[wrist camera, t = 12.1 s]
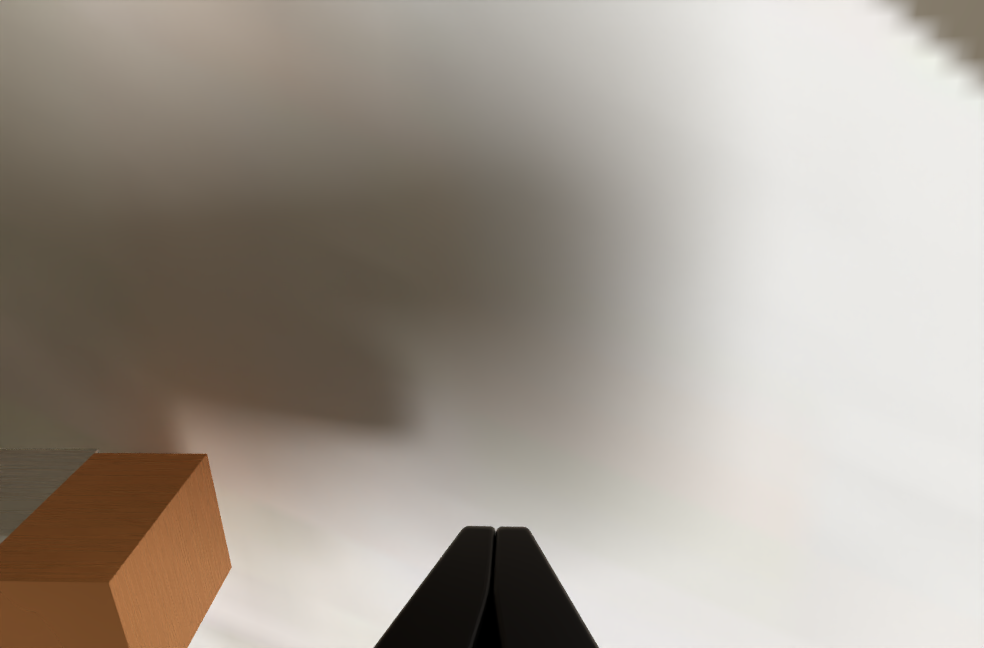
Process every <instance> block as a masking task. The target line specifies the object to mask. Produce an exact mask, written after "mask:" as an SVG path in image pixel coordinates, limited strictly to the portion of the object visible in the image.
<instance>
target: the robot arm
mask: <svg viewBox="0 0 984 648" xmlns="http://www.w3.org/2000/svg"><path fill="white" fill-rule="evenodd" d="M374 648H599V647H598V645H597V644H596V642H595V640H594V639H593V637H592V635H591V634H590V632H589V630H588V628H587V627H586V625H585V623H584V622H583V620H582V618H581V617H580V615H579V613H578V611H577V610H576V608H575V606H574V605H573V603H572V601H571V600H570V598H569V596H568V594H567V593H566V591H565V589H564V588H563V586H562V584H561V583H560V581H559V579H558V577H557V576H556V574H555V572H554V571H553V569H552V567H551V566H550V564H549V562H548V561H547V559H546V557H545V555H544V554H543V552H542V550H541V549H540V547H539V545H538V544H537V542H536V540H535V538H534V537H533V535H532V533H531V532H530V530H529V529H528V528H526V527H499V528H498V529H497V531H495V529H494V528H493V527H491V526H466V527H464V528H463V529H462V530H461V531H460V533H459V534H458V535H457V537H456V538H455V539H454V541H453V542H452V543H451V545H450V546H449V547H448V549H447V550H446V551H445V553H444V554H443V555H442V557H441V558H440V560H439V561H438V562H437V564H436V565H435V566H434V568H433V569H432V570H431V572H430V573H429V574H428V576H427V577H426V578H425V580H424V581H423V582H422V584H421V585H420V586H419V588H418V589H417V590H416V592H415V593H414V594H413V596H412V597H411V598H410V600H409V601H408V602H407V604H406V605H405V606H404V608H403V609H402V610H401V612H400V613H399V614H398V616H397V617H396V618H395V620H394V621H393V622H392V624H391V625H390V626H389V628H388V629H387V630H386V632H385V633H384V634H383V636H382V637H381V639H380V640H379V641H378V643H377V644H376V645H375V647H374Z"/></svg>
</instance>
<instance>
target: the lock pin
mask: <svg viewBox="0 0 984 648" xmlns="http://www.w3.org/2000/svg"><path fill="white" fill-rule="evenodd" d="M230 569H231V562H230V558H229V553H228V548H227V544H226V539H225V535H224V530H223V525H222V521H221V516H220V512H219V507H218V502H217V498H216V493H215V489H214V484H213V480H212V475H211V470H210V466H209V461H208V457H207V454H156V453H99V450H98V449H0V648H187V647H188V646H189V644H190V642H191V640H192V638H193V637H194V635H195V633H196V631H197V629H198V627H199V626H200V624H201V622H202V620H203V618H204V617H205V615H206V613H207V611H208V609H209V607H210V606H211V604H212V602H213V600H214V598H215V597H216V595H217V593H218V591H219V589H220V587H221V586H222V584H223V582H224V580H225V578H226V577H227V575H228V573H229V571H230Z"/></svg>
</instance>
